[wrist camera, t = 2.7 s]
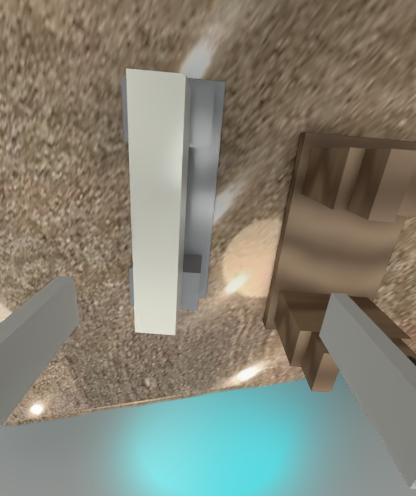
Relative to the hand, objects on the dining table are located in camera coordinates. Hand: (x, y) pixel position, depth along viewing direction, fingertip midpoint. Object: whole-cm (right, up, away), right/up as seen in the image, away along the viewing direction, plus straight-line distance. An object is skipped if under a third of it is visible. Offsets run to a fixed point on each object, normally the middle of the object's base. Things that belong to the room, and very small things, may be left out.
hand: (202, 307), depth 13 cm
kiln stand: (-4, +9, +18) cm, 20 cm away
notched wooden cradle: (+17, +3, +20) cm, 26 cm away
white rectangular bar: (-4, +7, +12) cm, 15 cm away
